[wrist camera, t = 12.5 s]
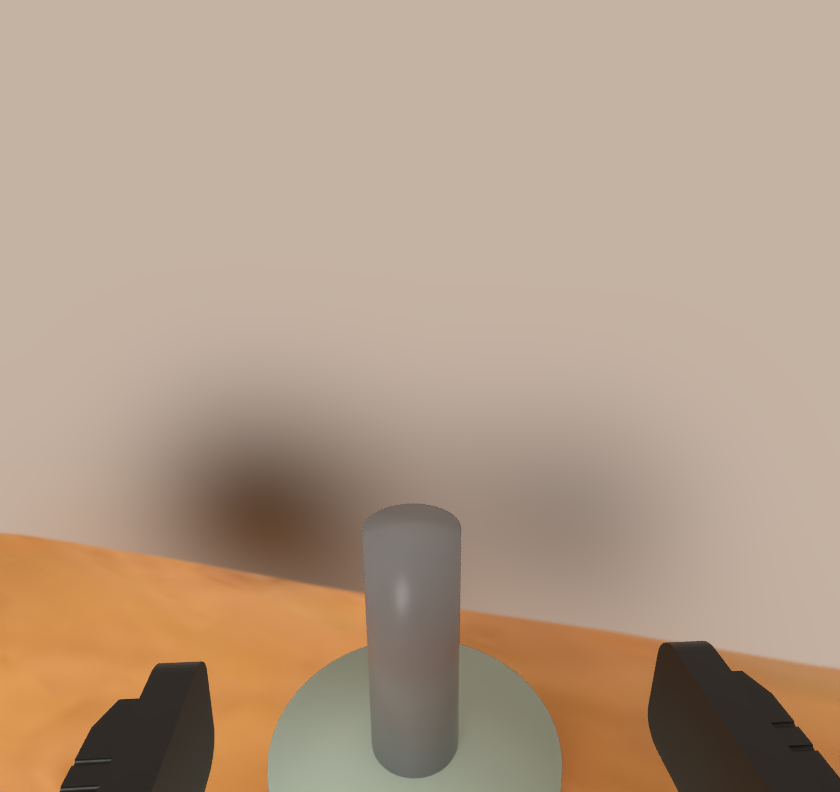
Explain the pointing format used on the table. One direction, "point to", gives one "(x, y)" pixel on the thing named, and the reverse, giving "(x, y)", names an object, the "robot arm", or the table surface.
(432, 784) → the peg on round base
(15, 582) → the table surface
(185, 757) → the robot arm
